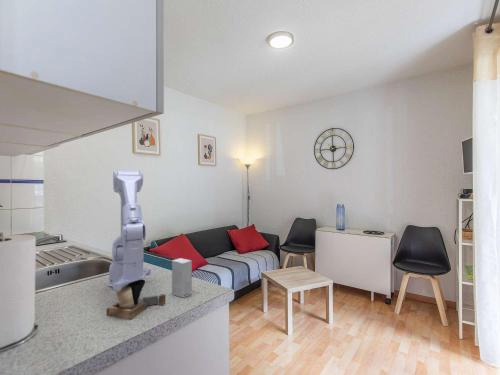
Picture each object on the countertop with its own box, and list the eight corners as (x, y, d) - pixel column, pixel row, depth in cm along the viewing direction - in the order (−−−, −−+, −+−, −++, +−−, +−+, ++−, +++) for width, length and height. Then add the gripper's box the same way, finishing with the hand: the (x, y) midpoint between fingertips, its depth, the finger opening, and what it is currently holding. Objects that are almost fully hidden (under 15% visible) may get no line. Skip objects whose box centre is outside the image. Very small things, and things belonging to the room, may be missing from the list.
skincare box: (192, 294, 93) (192, 260, 93) (182, 298, 90) (183, 263, 90) (180, 290, 97) (180, 257, 97) (171, 294, 93) (171, 260, 93)
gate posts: (121, 299, 88) (121, 290, 88) (124, 297, 90) (124, 289, 90) (162, 305, 84) (162, 296, 84) (165, 303, 85) (165, 294, 85)
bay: (106, 315, 77) (106, 307, 77) (123, 305, 84) (123, 297, 84) (130, 319, 75) (130, 311, 75) (146, 308, 82) (146, 301, 82)
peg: (117, 314, 78) (113, 294, 76) (125, 304, 82) (121, 285, 80) (130, 315, 78) (126, 295, 76) (137, 305, 82) (133, 286, 80)
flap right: (159, 302, 86) (159, 294, 86) (159, 303, 85) (159, 295, 85) (142, 305, 84) (143, 297, 84) (143, 306, 83) (143, 298, 83)
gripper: (127, 269, 74) (127, 317, 74) (158, 256, 88) (158, 296, 88) (107, 267, 76) (107, 314, 76) (140, 254, 90) (140, 294, 90)
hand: (133, 304), depth 82 cm, fingers closed
